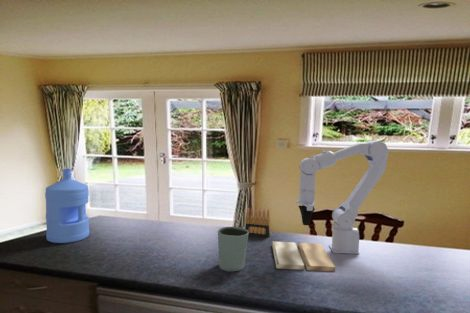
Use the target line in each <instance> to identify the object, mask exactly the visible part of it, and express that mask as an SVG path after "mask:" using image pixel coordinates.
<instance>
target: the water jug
mask: <svg viewBox="0 0 470 313" xmlns="http://www.w3.org/2000/svg"><path fill="white" fill-rule="evenodd" d="M72 173H73V172H72V168H63V169H62V179H61V180H59V181H56V182H55V183H52V184H51V185H48V186H46V187H45V191H44V192H45V193H44V195H45V197H44V198H45V221H46V233H45V234H46V241H48V242H50V243H53V244H69V243H76V242H79V241H81V240H85V239H86V238H88V237H89V235H90V222H89V221H90V219H89V217H87V214H86V211H87V210H86V205H87V204H88V203H89V195H90V193H89V192H90V191H89V190H90V189H89V186H88V184H85V183H83V182H81V181H78V180H75V179H73V178H72V175H73V174H72Z"/></svg>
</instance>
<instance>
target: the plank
mask: <svg viewBox="0 0 470 313" xmlns="http://www.w3.org/2000/svg"><path fill="white" fill-rule="evenodd" d="M271 248H272V252H273V256H274V257H273V258H274V262H275V268H276V269H280V270H281V269H283V270H300V271H301V270H305V264H304V261H303V259H302V256H301V254H300V251H299V249H298V245H297V243H296V242H292V241H274V240H273V241H271Z"/></svg>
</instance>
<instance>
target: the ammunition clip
mask: <svg viewBox="0 0 470 313" xmlns="http://www.w3.org/2000/svg"><path fill="white" fill-rule="evenodd" d="M266 210H267V211H266ZM245 215H246V216H245V228H244V229H246V230H248V232H249V234H248V236H255V237H260V238H261V237H263V238H270V237H271V230H270V229H271V227H270V226H271V224H270V222H271V220H270V210H269V208H268V209H265V208H263V211H262V209H261V208H259V210H258V209H257V208H255V210H254V208H253V207H251V208H249V207H247V208H246V214H245Z"/></svg>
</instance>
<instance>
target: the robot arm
mask: <svg viewBox="0 0 470 313" xmlns="http://www.w3.org/2000/svg"><path fill="white" fill-rule="evenodd" d="M389 154H390V152H389V149H388V147H387V144H386V143H385V142H383V141H380V140H372V139H371V140H370V139H369V140H366V141H361V142H358V143H355V144H351V145H350V146H349V145H348V146H347V147H345V148H341V149H339V150H337V151H334V152H333V151H331V150H325V149H324V150H322V152H321V153H319V154H316V155H313V154H312V155H310V158H309V157H306V158H305V157H304V158H303V159H302V160H300V162H299V164H298V167H299V170H300V172H299V174H300V175H299V176H300V177H299V198H298V200H295V203H296V204H299V205H298V206H297V207H298V209H299V211H300V217H301V222H302V226H309V225H310V222H311V218H312V215H313V213H314V212H315V210H316V209H315V204H316V200H315V195H316V194H315V193H316V173H317V172H318V171H320V170H324V169H327V168H329V167H332V166H335V165H336V163H337V161H340V160H342V159H346V158H349V157H353V156H356V155H363V156H364V157H365V158H366V160H367V163H368V165H369V167H368V169H367V170H366V172H365V173H364V174H363V176H362V177H361V179H360V180H359V181H358V183H357V185H356V186H355V187H354V189H353V190H352V191H351V193H350V194H349V196H348V197H347V198H346V200H345V201H343V202H342V203H341V204H340V205H339V206H338V207H336V208H335V209H334V210H332V213H331V218H332V220H333V221H334V222H333V224H332V234H331V237H332V238H331V244H328V247H329V248H330V250H331V251H332V253H334V254H351V255H352V254H353V255H354V254H355V255H356V254H357V255H359V254H360V252H359V248H360V247H359V246H360V231H359V229H358V228H357V227H354V226H355V223H356V219H357V217H358V215H359V209H360V207H361V206H362V204H363V203H364V201H365V200H366V199H367V197H368V196H369V194H370V193H371V192H372V191H373V188H374V187H375V186H376V184H377V183H378V182H379V180H380V179H381V177H382V176H383V175H384V173H385V171H386V169H387V160H388V156H389Z"/></svg>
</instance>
